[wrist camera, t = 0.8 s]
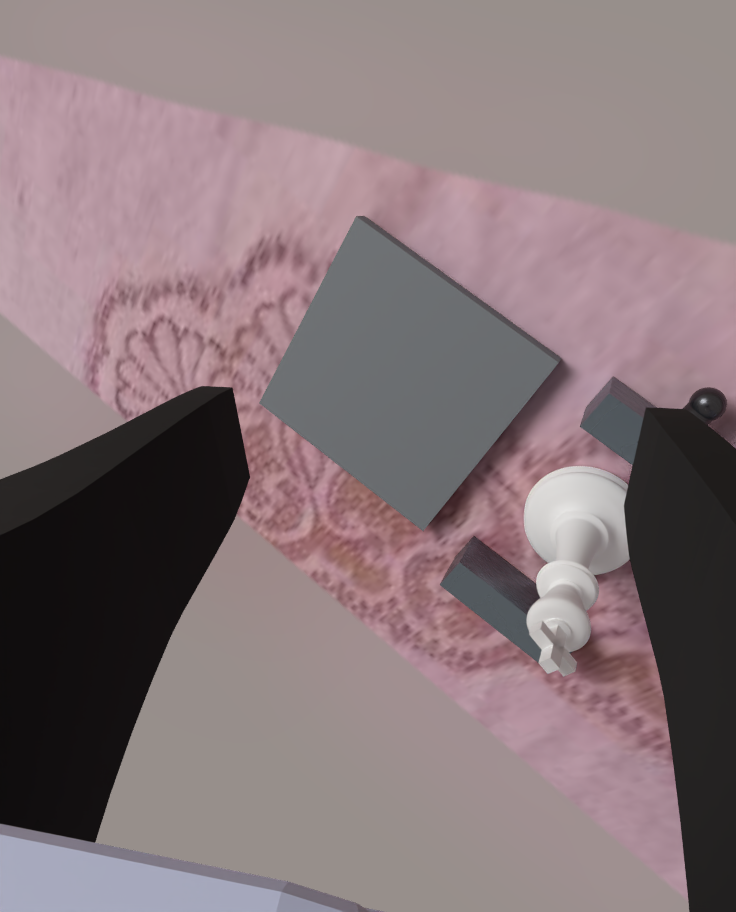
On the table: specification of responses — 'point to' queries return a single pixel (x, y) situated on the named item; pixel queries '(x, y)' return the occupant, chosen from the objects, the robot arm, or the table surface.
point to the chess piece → (572, 555)
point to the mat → (403, 373)
